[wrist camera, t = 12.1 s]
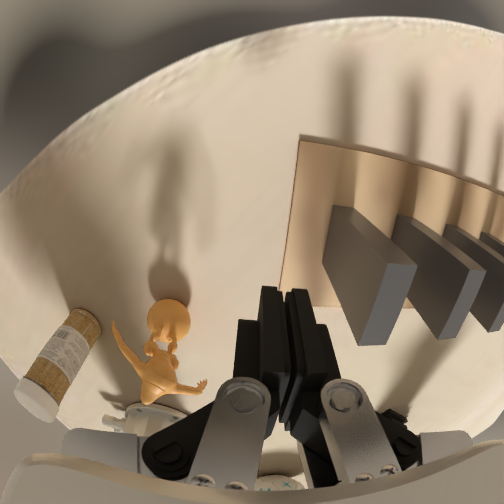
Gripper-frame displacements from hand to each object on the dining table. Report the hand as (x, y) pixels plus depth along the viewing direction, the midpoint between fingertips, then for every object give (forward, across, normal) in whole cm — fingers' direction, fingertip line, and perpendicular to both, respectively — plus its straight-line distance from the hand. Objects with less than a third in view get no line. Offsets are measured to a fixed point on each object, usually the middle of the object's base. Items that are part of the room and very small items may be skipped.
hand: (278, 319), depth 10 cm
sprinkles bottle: (+12, +19, +14) cm, 27 cm away
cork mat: (+12, -18, +1) cm, 22 cm away
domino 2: (+12, -12, +1) cm, 17 cm away
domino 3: (+12, -18, +1) cm, 21 cm away
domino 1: (+12, -6, +1) cm, 13 cm away
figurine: (+12, +7, +9) cm, 17 cm away
